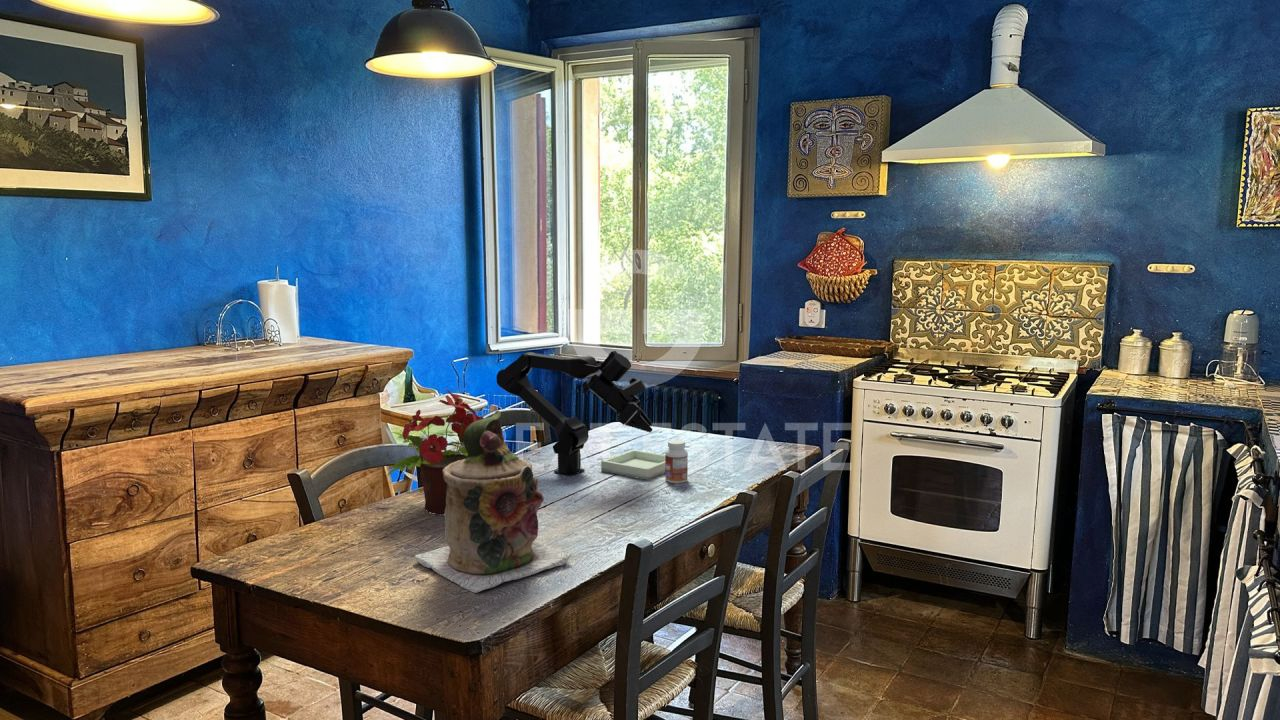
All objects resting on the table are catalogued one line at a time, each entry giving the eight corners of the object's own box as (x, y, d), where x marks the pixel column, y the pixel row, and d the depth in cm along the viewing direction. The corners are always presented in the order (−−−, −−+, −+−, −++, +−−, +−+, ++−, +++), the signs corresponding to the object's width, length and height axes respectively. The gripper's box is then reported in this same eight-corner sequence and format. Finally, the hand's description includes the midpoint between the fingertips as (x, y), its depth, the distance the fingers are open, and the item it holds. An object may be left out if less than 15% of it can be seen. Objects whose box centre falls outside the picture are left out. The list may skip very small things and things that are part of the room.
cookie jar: (410, 563, 186) (404, 413, 182) (506, 534, 204) (502, 397, 199) (477, 597, 169) (472, 433, 164) (576, 563, 186) (574, 413, 181)
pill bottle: (663, 477, 249) (663, 439, 247) (685, 477, 250) (685, 438, 248) (666, 484, 243) (666, 444, 241) (689, 483, 244) (689, 444, 242)
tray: (647, 479, 247) (647, 469, 247) (601, 471, 256) (601, 460, 256) (678, 467, 260) (678, 457, 260) (633, 459, 269) (633, 449, 269)
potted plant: (479, 526, 209) (475, 400, 205) (373, 519, 214) (367, 396, 210) (520, 490, 238) (518, 379, 233) (426, 484, 243) (422, 376, 238)
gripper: (627, 374, 237) (671, 412, 238) (627, 366, 256) (668, 401, 257) (600, 405, 238) (644, 443, 239) (602, 395, 257) (643, 430, 258)
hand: (651, 428), depth 248 cm, fingers open, 9 cm apart
